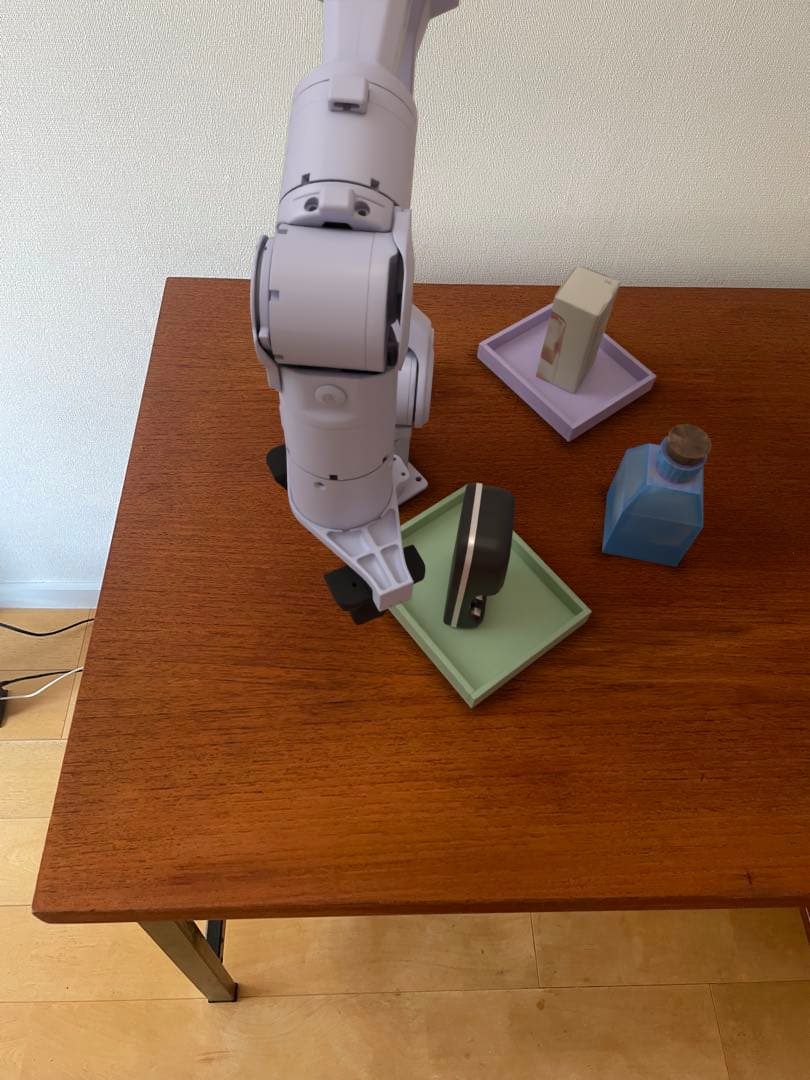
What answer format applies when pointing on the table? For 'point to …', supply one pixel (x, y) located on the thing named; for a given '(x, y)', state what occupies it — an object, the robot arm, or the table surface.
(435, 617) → the sage tray
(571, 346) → the cream cardboard box
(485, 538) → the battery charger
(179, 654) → the table surface
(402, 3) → the robot arm
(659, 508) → the perfume bottle
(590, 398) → the lavender tray
